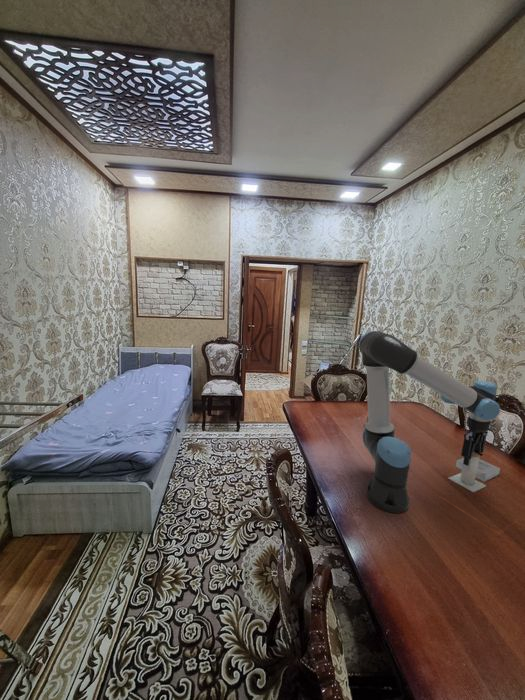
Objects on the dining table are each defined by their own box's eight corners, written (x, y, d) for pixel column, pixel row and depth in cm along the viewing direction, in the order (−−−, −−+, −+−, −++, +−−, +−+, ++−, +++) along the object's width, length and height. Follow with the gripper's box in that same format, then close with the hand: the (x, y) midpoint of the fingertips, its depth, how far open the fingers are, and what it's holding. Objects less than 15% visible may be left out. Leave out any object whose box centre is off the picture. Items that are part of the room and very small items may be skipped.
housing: (484, 481, 123) (486, 474, 122) (455, 467, 133) (456, 460, 133) (498, 475, 128) (500, 468, 128) (469, 461, 139) (471, 455, 138)
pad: (473, 492, 115) (473, 491, 115) (448, 478, 124) (448, 477, 124) (486, 486, 120) (486, 485, 120) (461, 473, 129) (461, 472, 129)
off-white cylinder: (470, 485, 118) (475, 457, 116) (457, 479, 123) (462, 451, 121) (476, 483, 121) (482, 455, 119) (464, 476, 125) (469, 449, 123)
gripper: (477, 425, 110) (466, 480, 114) (500, 418, 118) (490, 469, 122) (456, 418, 116) (447, 469, 120) (480, 412, 124) (471, 460, 128)
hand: (469, 469), depth 121 cm, fingers closed on off-white cylinder, 5 cm apart
